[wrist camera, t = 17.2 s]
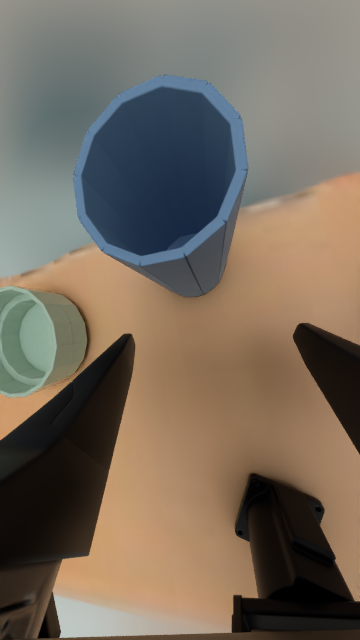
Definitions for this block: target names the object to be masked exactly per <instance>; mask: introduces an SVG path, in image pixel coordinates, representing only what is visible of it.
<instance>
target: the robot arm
mask: <svg viewBox="0 0 360 640" xmlns="http://www.w3.org/2000/svg"><path fill="white" fill-rule="evenodd" d="M293 339H294V342H295V344H296V346H297V348H298V350H299V352H300V354H301V356H302V359H303V361H304V363H305V365H306V366H307V368H308V370H309V371H310V373H311V375H312V376H313V378H314V380H315V381H316V383H317V385H318V386H319V388H320V390H321V391H322V393H323V394H324V396H325V398H326V399H327V401H328V403H329V404H330V406H331V408H332V409H333V411H334V413H335V414H336V416H337V418H338V419H339V421H340V423H341V424H342V426H343V428H344V429H345V431H346V433H347V434H348V436H349V437H350V439H351V441H352V442H353V444H354V446H355V447H356V449H357V451H358V452H359V454H360V346H359V345H357V344H355V343H353V342H350V341H348V340H346V339H343V338H341V337H339V336H337V335H334V334H332V333H330V332H327V331H325V330H323V329H321V328H318V327H316V326H314V325H312V324H309V323H300V324H298V325H297V328H296V330H295V332H294V334H293ZM134 356H135V342H134V339H133V336H132V334H123V335H122V336H121V337H120V338H119V339H118V340H117V341H115V342H114V343H113V344H112V345H111V346H110V347H109V348H108V349H107V350H106V351H104V352H103V353H102V354H101V355H100V356H99V357H98V358H97V359H96V360H95V361H94V362H92V363H91V364H90V365H89V366H88V367H87V368H86V369H85V370H84V371H83V372H82V373H80V374H79V375H78V376H77V377H76V378H75V379H74V380H73V381H72V382H70V383H69V384H68V385H67V386H66V387H65V388H64V389H63V390H62V391H61V392H59V393H58V394H57V395H56V396H55V397H54V398H53V399H51V400H50V401H49V402H48V403H47V404H45V405H44V406H43V407H42V408H40V409H39V410H38V411H37V412H36V413H34V414H33V415H32V416H31V417H29V418H28V419H27V420H26V421H24V422H23V423H22V424H21V425H19V426H18V427H17V428H16V429H14V430H13V431H12V432H11V433H9V434H8V435H7V436H6V437H4V438H3V439H2V440H0V640H360V601H355V600H354V598H353V596H352V594H351V592H350V590H349V588H348V586H347V584H346V582H345V580H344V578H343V576H342V574H341V572H340V570H339V568H338V566H337V564H336V562H335V559H336V557H335V555H334V553H333V551H332V549H331V547H330V545H329V543H328V541H327V539H326V537H325V535H324V533H323V531H322V529H321V527H320V523H321V520H322V517H323V514H324V507H323V505H322V504H321V502H320V501H319V500H317V499H315V498H312V497H310V496H307V495H305V494H302V493H300V492H297V491H295V490H293V489H290V488H288V487H285V486H283V485H280V484H278V483H275V482H273V481H270V480H268V479H266V478H263V477H261V476H258V475H256V474H251V475H250V476H249V479H248V482H247V486H246V489H245V492H244V496H243V499H242V502H241V506H240V509H239V512H238V516H237V519H236V522H235V533H236V535H237V536H238V537H240V538H242V539H244V540H246V541H248V542H250V547H251V553H252V559H253V566H254V572H255V578H256V585H257V591H258V597H259V598H242V596H241V595H234V596H233V615H232V633H213V634H181V635H180V634H179V635H145V636H114V637H113V636H111V637H77V638H59V637H60V633H61V630H60V625H59V620H58V616H57V611H56V606H55V601H54V596H53V591H52V590H53V587H54V584H55V581H56V577H57V574H58V571H59V568H60V565H61V561H62V559H66V558H74V557H83V556H88V555H89V552H90V548H91V544H92V540H93V536H94V532H95V528H96V523H97V519H98V515H99V511H100V507H101V503H102V498H103V494H104V490H105V486H106V482H107V478H108V473H109V469H110V465H111V461H112V456H113V452H114V448H115V444H116V440H117V436H118V431H119V427H120V423H121V419H122V415H123V411H124V406H125V402H126V398H127V394H128V390H129V386H130V382H131V377H132V372H133V364H134ZM254 480H256V481H254ZM317 506H318V507H317Z"/></svg>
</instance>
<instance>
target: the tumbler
mask: <svg viewBox="0 0 360 640" xmlns="http://www.w3.org/2000/svg"><path fill="white" fill-rule="evenodd" d="M88 132H89V133H86V135H85V138H84V142H83V145H82V148H81V151H80V154H79V157H78V161H77V164H76V167H75V170H74V177H73V182H74V189H75V198H76V206H77V214H78V218H79V220H80V222H81V224H82V225H83V226H84V228H85V229H86V231H87V232H88V233H89V235H90V236H91V237H92V239H93V240H94V242H95V243H96V244H97V246H98V247H99V249H100V250H101V251H103V253H105V254H107V255H108V256H110V257H112V258H114V259H115V260H117V261H119V262H121V263H123V264H124V265H126V266H128V267H130V268H131V269H133V270H135V271H137V272H138V273H140V274H142V275H144V276H145V277H147V278H149V279H151V280H152V281H154V282H156V283H158V284H159V285H161V286H163V287H165V288H166V289H168V290H170V291H172V292H174V293H177V294H179V295H181V296H184V297H197V296H201V295H204V294H206V293H208V292H209V291H210V290H212V289H213V288H214V287H215V286H216V285H217V284H218V283H219V281H220V279H221V277H222V274H223V271H224V269H225V266H226V262H227V258H228V254H229V249H230V245H231V241H232V237H233V232H234V228H235V224H236V220H237V215H238V211H239V207H240V203H241V198H242V194H243V190H244V185H245V181H246V177H247V171H248V163H247V155H246V146H245V140H244V130H243V123H242V118H240V114H239V113H238V112H237V111H236V110H235V109H234V108H233V107H232V105H231V104H230V103H229V102H228V101H227V100H226V99H225V98H224V97H223V96H222V95H221V94H220V93H219V92H218V90H216V89H215V87H214V86H213V85H212V84H211V83H208V82H207V81H205V80H198V79H191V78H184V77H178V76H171V75H163V78H162V76H161V75H160V76H157V77H155V78H153V79H151V80H148V81H146V82H144V83H142V84H139V85H137V86H135V87H133V88H130V89H128V90H126V91H124V92H121V93H120V97H119V96H116V97H115V99H114V100H113V101H112V102H111V103H110V104H109V105H108V107H107V108H106V109H105V110H104V111H103V113H102V114H101V115H100V116H99V117H98V118H97V120H96V121H95V122H94V123H93V125H91V127H90V128H89V129H88Z"/></svg>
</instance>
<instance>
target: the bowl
mask: <svg viewBox="0 0 360 640" xmlns="http://www.w3.org/2000/svg"><path fill="white" fill-rule="evenodd" d="M86 345H87V335H86V328H85V322H84V320H83V318H82V316H81V315H80V313H79V311H78V309H77V307H76V306H75V305H74V304H73V303H72V302H71V301H69V300H68V299H67V298H66V297H65V296H63V295H61V294H57V293H54V292H50V291H44V290H38V289H31V288H24V287H18V286H7V287H3V288H0V394H3V395H5V396H7V397H26V396H29V395H31V394H34V393H36V392H38V391H40V390H43V389H45V388H47V387H50V386H52V385H54V384H57V383H59V382H61V381H63V380H64V379H66V378H68V377H69V376H71V375H73V374H74V373H75V371H76V370H77V368H78V367H79V365H80V364H81V362H82V361H83V359H84V355H85V350H86Z"/></svg>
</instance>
